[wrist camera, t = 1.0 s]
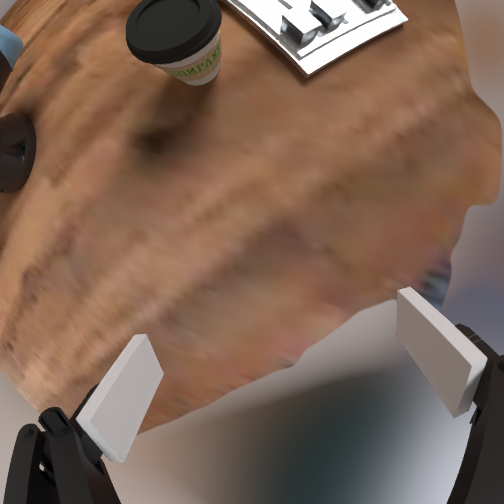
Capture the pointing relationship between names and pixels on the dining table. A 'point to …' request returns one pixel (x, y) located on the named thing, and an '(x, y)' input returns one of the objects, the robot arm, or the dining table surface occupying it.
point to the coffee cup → (178, 37)
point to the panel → (276, 20)
